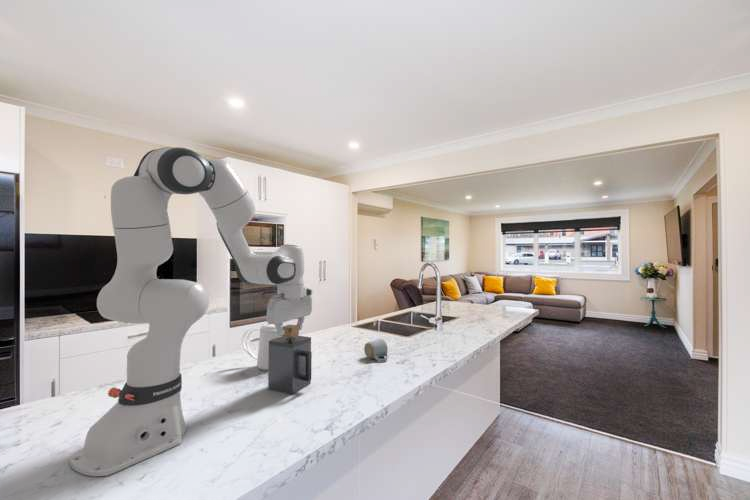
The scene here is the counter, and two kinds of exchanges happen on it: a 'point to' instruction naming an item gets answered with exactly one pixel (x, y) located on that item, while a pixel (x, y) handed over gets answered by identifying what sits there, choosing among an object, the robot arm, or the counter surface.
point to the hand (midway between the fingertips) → (290, 332)
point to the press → (289, 364)
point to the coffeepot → (262, 344)
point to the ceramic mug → (376, 350)
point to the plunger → (291, 331)
